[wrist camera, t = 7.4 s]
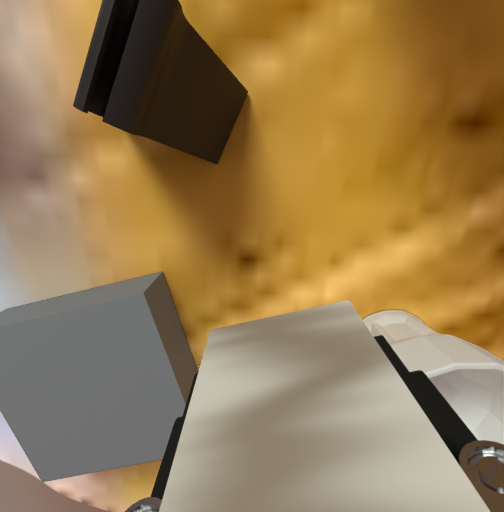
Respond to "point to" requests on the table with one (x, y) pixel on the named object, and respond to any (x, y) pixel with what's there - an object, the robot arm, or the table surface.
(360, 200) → the table surface
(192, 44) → the phone stand
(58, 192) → the table surface
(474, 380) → the cup
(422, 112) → the table surface
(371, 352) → the cream block
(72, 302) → the slate block
